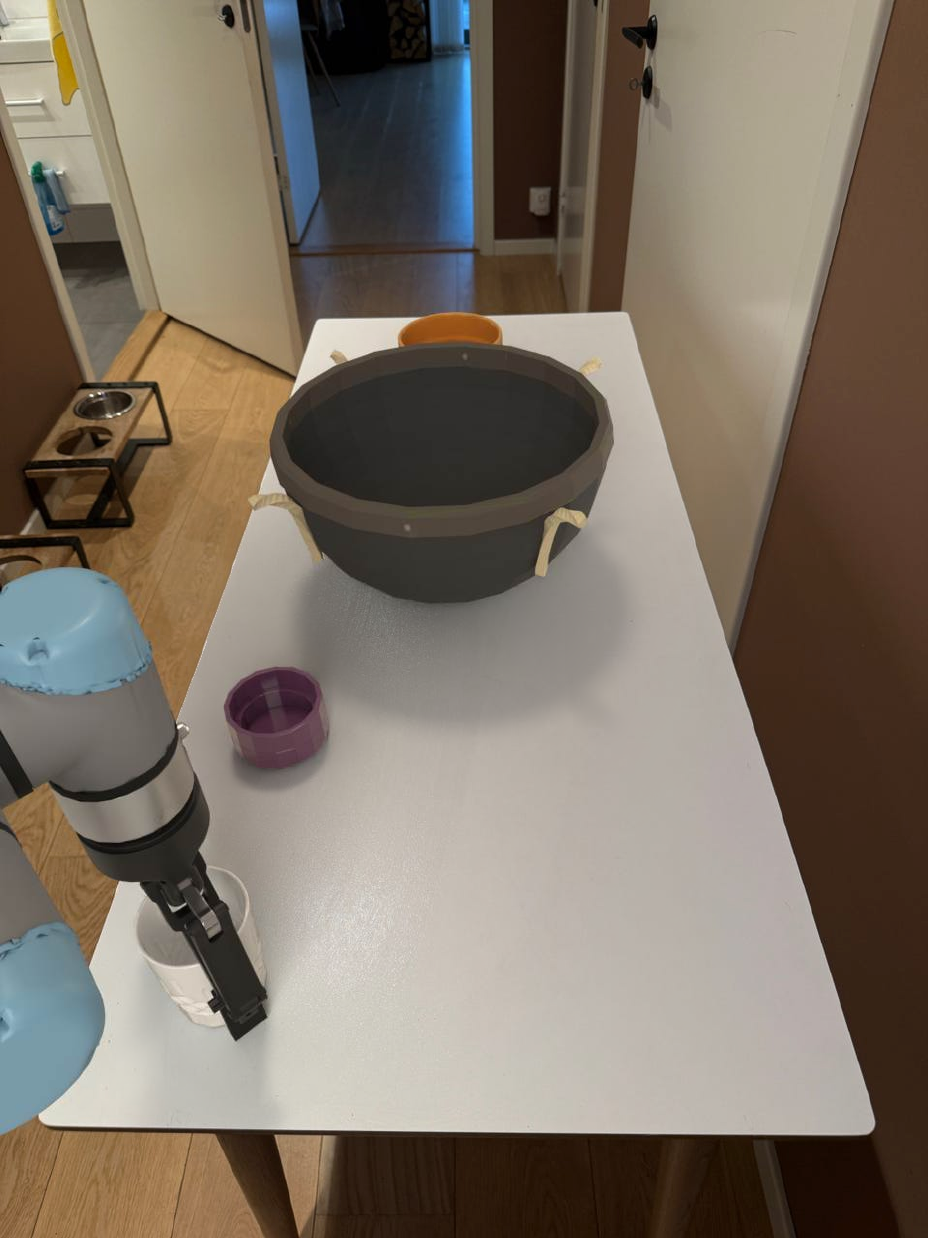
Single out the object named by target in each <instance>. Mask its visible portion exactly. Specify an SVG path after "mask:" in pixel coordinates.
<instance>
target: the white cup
mask: <svg viewBox="0 0 928 1238" xmlns="http://www.w3.org/2000/svg"><path fill="white" fill-rule="evenodd" d="M206 866H207V869H206V874H207V875H208V877H209V879H210V881H211V883H212V885H213V887H214V889H215V891H216V892H217V894H218V896H219V899H220V900H221V901H223V902H224V903H226V904H227V905H228V907H229V909H230V910H229V913H230V916H231V919H232V922H233V925H234V927H235V930H236V932H237V934H238V936H239V938H240V940H241V942H242V944H243V946H244V949H245V951H246V953H247V955H248V957H249V959H250V961H251V963H252V965H253V967H254V970H255V972H256V974H257V976H258V978H259V980H260V982H261V984H262V986H263V987H264V988H265V986H266V981H267V968H266V965H265V962H264V957H263V948H262V943H261V939H260V934H259V931H258V927H257V923H256V920H255V916H254V912H253V908H252V904H251V902H250V901H251V900H250V897H249V893H248V891H247V887H246V886H245V885H244V883H243V882H242V880H241V879H240V878H239V877H238V876H237V875H235V874H234V873H233V872H231V871H229V870H228V869H225V868H222V867H218V866H212V865H206ZM202 892H203V889H202V891H201V893H200V894H202ZM167 904H168V903H167ZM168 905H169V904H168ZM185 905H186V903H185V904H183V905H181V906H179V907H172V906H170V905H169V907H170V909H171V911H172V912H175V911H177V910H179V909H180V908H182V907H183V906H185ZM133 938H134V941H135V942H134V943H135V945H136V947H137V949H138V951H139V952H140V953H141V955H142V957H143V958H144V960H145V961H146V963H147V964H148V966H149V968H150V969H151V970H152V972H153V974H154V975H155V976H156V978H157V980H158V982H159V983H160V984H161V986H162V987H163V989H164V990H165V991H166V993H168V996H170V998H171V999H172V1000H173V1002H174V1003H175V1004H176V1005H177V1007H178V1008H179V1010H180V1011H181V1012H182V1013H183V1014H184V1016H185V1017H187V1018H188V1019H189V1020H190V1021H191V1022H192V1023H194V1024H196V1025H201V1026H205V1027H210V1028H217V1027H221V1026H227V1025H226V1023H225V1021H224V1019H223V1017H222V1015H221V1013H220V1011H218V1012H217V1013H215V1014H214V1013H213V1012H212V1010H211V1009H210V1007H209V1005H208V1004H207V1002H208V1001H209V1000H211V999H212V998H213V996H212V994H211V991H212V990H213V988H212V986H211V984H210V982H209V981H208V979H207V977H206V975H205V973H204V972H203V970H202V968H201V966H200V964H199V962H198V961H197V959H196V957H195V955H194V954H193V952H192V950H191V948H190V946H189V945H188V943H187V941H186V939H185V937H184V936H183V934H182V932H175V931H173V930H172V928H171V927H170V926H169V925H168V923H167V922H166V920H165V919H164V917H163V915H162V913H161V911H160V910H159V908H158V906H157V904H156V903H154V902H152V901H151V900H150V898H149V897H148V896H147V895H145V897H144V898H143V899H142V901H141V903H140V905H139V907H138V909H137V911H136V914H135V917H134V922H133Z"/></svg>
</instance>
